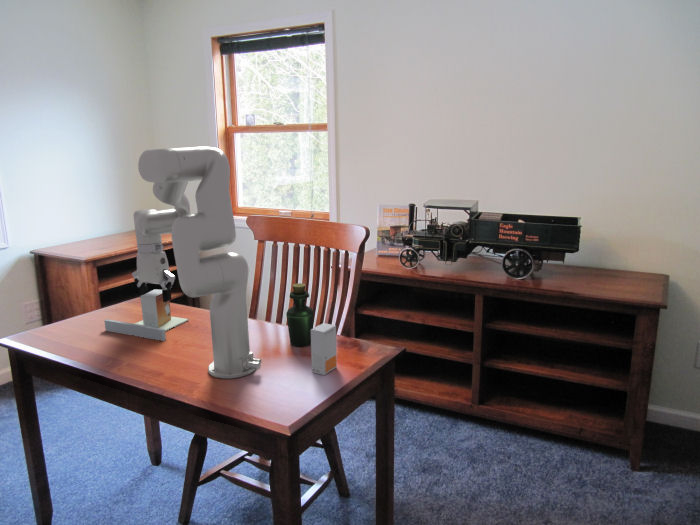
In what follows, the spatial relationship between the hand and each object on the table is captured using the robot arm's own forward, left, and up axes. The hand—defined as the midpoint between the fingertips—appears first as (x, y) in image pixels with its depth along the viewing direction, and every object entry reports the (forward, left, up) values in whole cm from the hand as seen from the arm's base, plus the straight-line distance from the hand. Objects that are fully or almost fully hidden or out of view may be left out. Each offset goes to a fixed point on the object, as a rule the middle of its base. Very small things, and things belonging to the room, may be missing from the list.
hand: (155, 299), depth 180 cm
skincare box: (-66, +10, -9) cm, 68 cm away
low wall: (+1, +10, -9) cm, 13 cm away
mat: (+1, 0, -9) cm, 9 cm away
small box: (0, 0, -9) cm, 9 cm away
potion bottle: (-51, -4, -9) cm, 52 cm away
